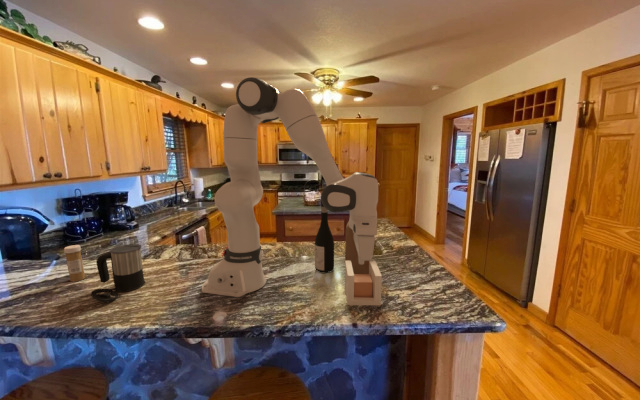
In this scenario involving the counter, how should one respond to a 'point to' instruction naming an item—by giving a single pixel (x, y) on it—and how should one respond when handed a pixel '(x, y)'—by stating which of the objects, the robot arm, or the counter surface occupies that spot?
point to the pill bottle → (74, 262)
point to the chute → (376, 285)
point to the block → (362, 285)
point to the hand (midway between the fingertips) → (360, 262)
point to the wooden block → (354, 253)
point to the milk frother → (120, 271)
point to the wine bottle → (324, 245)
